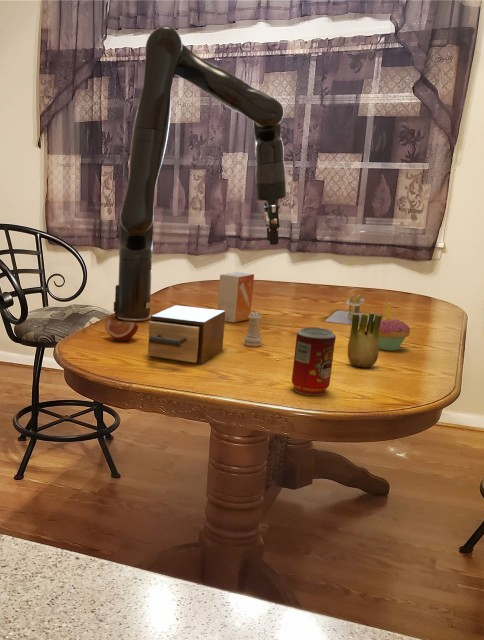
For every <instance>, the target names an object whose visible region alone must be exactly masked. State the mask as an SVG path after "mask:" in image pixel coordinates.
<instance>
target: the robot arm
mask: <svg viewBox="0 0 484 640" xmlns="http://www.w3.org/2000/svg"><path fill="white" fill-rule="evenodd" d="M144 59H145V60H144V61H145V62H144V74H143V77H144V78H143V84H142V88H141V94H140V97H139V100H138V104H137V109H136V112H135V113H136V114H135V118H134V123H133V128H132V137H131V142H130V153H129V175H128V183H127V189H126V191H125V197H124V200H123V203H122V207H121V210H120V213H119V221H120V222H119V227H120V228H119V245H118V247H119V248H118V282H117V283H118V284H116V285H115V291H114V294H115V295H114V296H115V298H114V302H113V312H114V319H117V320H120V321H127V322H134V323H136V322H145V321H149V320H151V305H152V302H151V297H152V296H151V294H152V293H151V292H152V271H153V270H152V269H153V248H154V247H153V245H154V244H153V243H154V240H153V239H154V222H155V221H154V219H155V209H154V208H155V197H156V186H157V182H158V177H159V175H160V170H161V168H162V164H163V161H164V156H165V152H166V147H167V142H168V137H169V131H170V130H169V129H170V122H171V106H172V105H171V103H172V102H171V101H172V90H173V89H172V88H173V82H174V78H175V76H176V77H179V78H181V79H183V80H185V81H187V82H188V83H190V84H191V85H194V86H195V87H197V88H198V89H200V90H201V91H202V92H204V93H205V94H207V95H208V96H210V97H211V98H213V99H215V100H216V101H218V102H219V103H221V104H222V105H224V106H225V107H227V108H229V109H230V110H232V111H234V112H236V113H240V114H242V115H243V116H245V117H246V118H247V119H249V120H251V121H252V122H253V123H252V124H253V132H254V139H255V193H256V195H255V196H256V200H257V201H259V202H260V201H264V202H263V203H264V206H263V209H262V210H263V214H264V215H263V218H264V223H265V227H266V239H267V241H268V242H269V245H270V246H275V245H276V246H277V245H278V244H279V229H280V226H281V225H280V221H281V217H280V212H281V205H279V203H278V202H277V201H278V200H279V199H284V198H286V196H287V187H286V186H287V183H286V181H287V180H286V167H285V159H284V157H285V155H284V153H285V152H284V142H283V139H282V128H281V127H282V125H281V122H282V120H283V118H284V114H285V111H284V107H283V105H282V104H281V102H280V101H279V100H277V99H276V98H274V97H273V96H270V95H268V94H266V93H264V92H263V91H260V90H258V89H257V88H254V87H253V86H252V85H251V84H249V83H248V82H246V81H244V80H243V79H242V78H240V77H238V76H237V75H234V74H233V73H231V72H230V71H227V70H226V69H224V68H221V67H219V66H217V65H214V64H212V63H210V62H209V61H207V60H205V59H203V58H201V57H200V56H198V55H196V53H194V52H193V51H191V50H190V49H189V48H188V47H187V46H186V45H185V44H183V41H182V37H181V36H180V34H179V32H178V31H177V30H176V29H174V28H173V27H171V26H169V25H168V26H167V25H163V26H159V27H157V28H155V29H154V30H153V31H152V32H151V33H150V35H148V38H147V39H146V42H145V58H144Z"/></svg>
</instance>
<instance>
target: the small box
mask: <svg viewBox="0 0 484 640" xmlns="http://www.w3.org/2000/svg"><path fill="white" fill-rule="evenodd" d="M254 280H255V274H254V273H248V272H240V271H234V272H226V273H223V274H220V275H219V285H218V296H217V299H218V300H217V310H223V311H225V322H229V323H239V322H243V321H247V320H250V319H249V317H248V316H249V315H250V312H252V303H253V291H254Z"/></svg>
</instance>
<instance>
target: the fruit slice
mask: <svg viewBox="0 0 484 640" xmlns="http://www.w3.org/2000/svg"><path fill="white" fill-rule="evenodd" d="M104 328H105V331H106V332H107V334H108V335H109V336H110V337H111V338H113V339H114V340H116V341H120V342H123V341H124V342H125V341H128V340H130V339H132V338H133V337H134V336H135V335H136V333H137V332H138V329H139V325H138V324H137V323H136V322H134V321H123V320H121V321H119V320H118V319H117V320H116V319H109V318H107V319H106V322H105V326H104Z"/></svg>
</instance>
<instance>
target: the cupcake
mask: <svg viewBox="0 0 484 640" xmlns="http://www.w3.org/2000/svg"><path fill="white" fill-rule="evenodd" d="M391 304H392V303H391V301H390V299H388V303H387V308H386V318H385V319H384V318H382V319H381V324H380V328H379V350H383V351H388V352H389V351H392V352H393V351H399V349H400V348H401V345H402V343H403V342H404V340H405V339H406V338H408V337H409V336H410V335H411V327H410V326H409V325H408V324H406V323H405V322H404V321H401V320H400V319H395V318H391V308H392V307H391V306H392V305H391Z"/></svg>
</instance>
